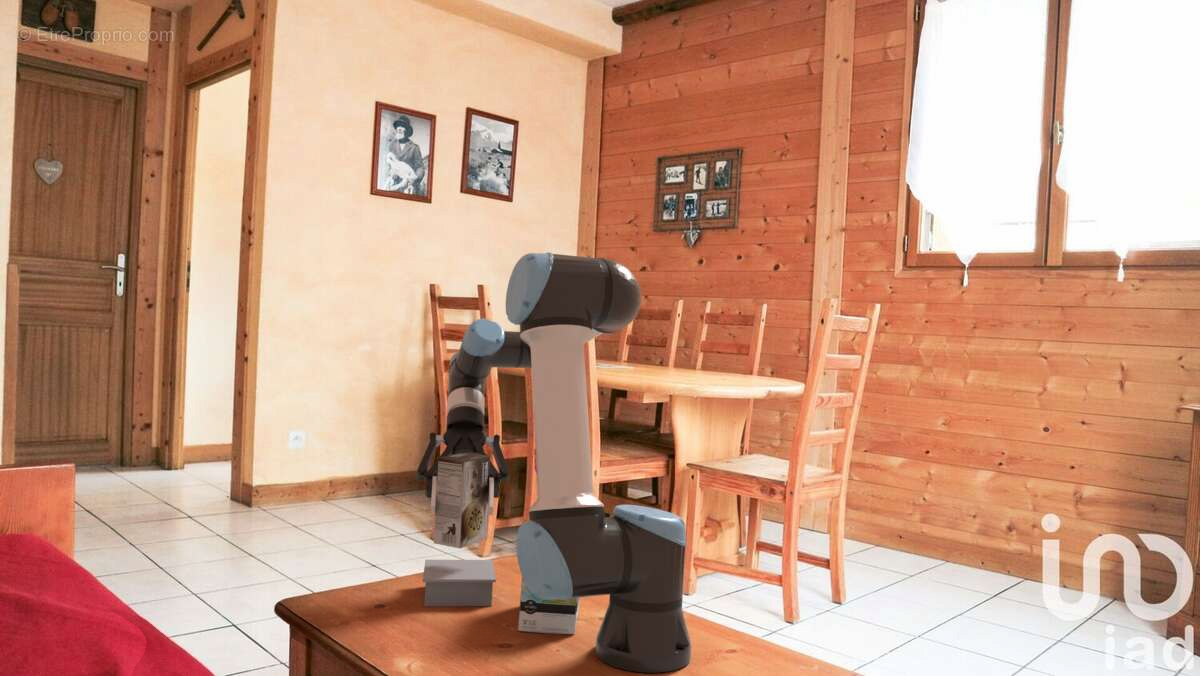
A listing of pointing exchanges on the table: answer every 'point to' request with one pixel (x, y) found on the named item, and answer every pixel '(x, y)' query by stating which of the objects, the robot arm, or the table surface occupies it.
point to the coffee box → (461, 499)
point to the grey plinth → (458, 582)
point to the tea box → (547, 614)
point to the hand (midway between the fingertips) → (462, 510)
